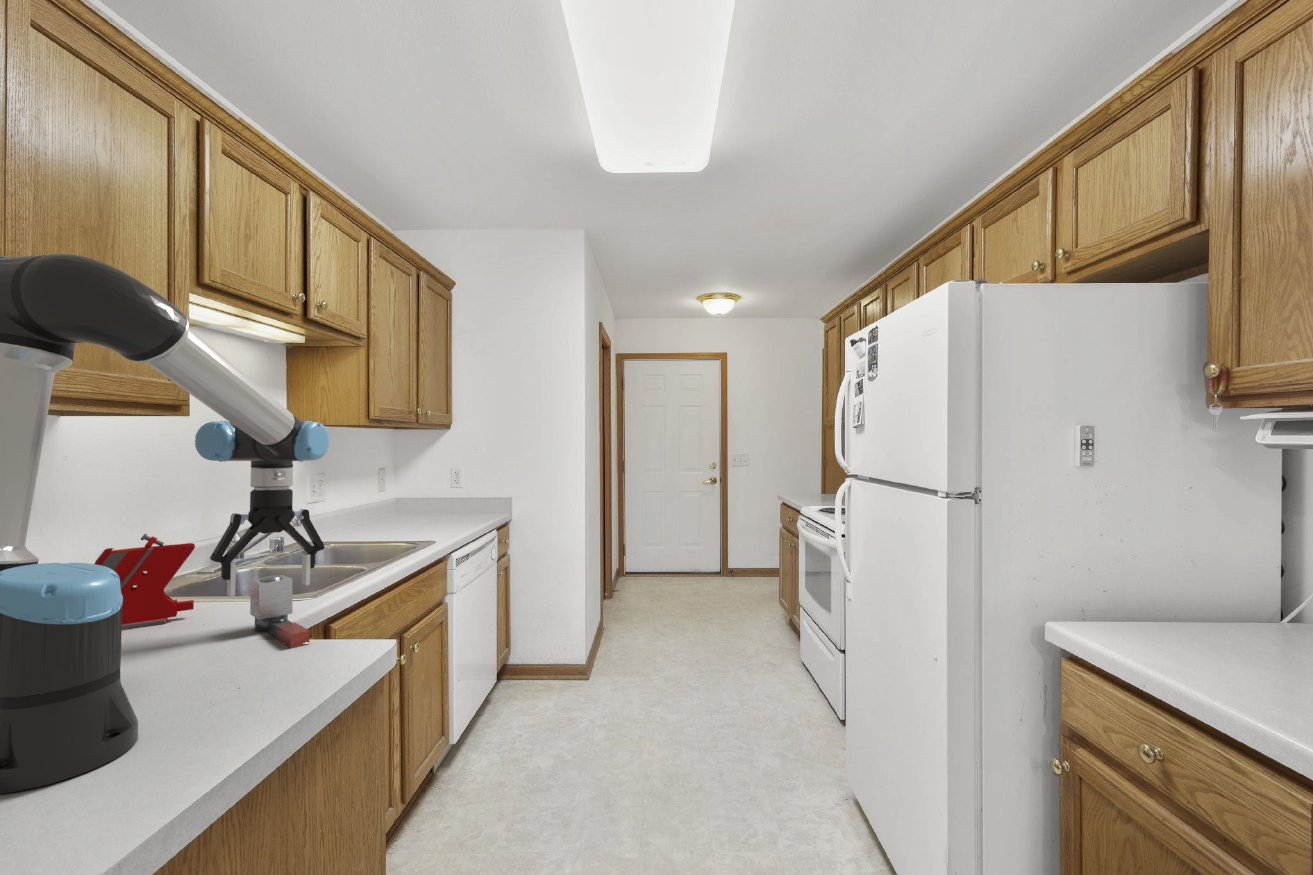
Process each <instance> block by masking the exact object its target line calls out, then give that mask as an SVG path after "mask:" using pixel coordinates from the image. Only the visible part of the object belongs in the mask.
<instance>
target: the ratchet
mask: <svg viewBox="0 0 1313 875" xmlns="http://www.w3.org/2000/svg"><path fill="white" fill-rule="evenodd" d="M288 616H289V614H287V615H282V616H277V617H272V618H267V619H262V620H258V619H257V618H255V617H254V632H256V633H268V634H269V635H271V636H273V637H274V638H276V640H278V641H279V642H280V643H282V644H283V643H285V644H284V645H285V646H286V647H289V649H294V648H297V647H302V646H307V645H308V644H303V643H305V642H309V643H310V630H309V628H306V627H304V626H303V625H301V624H299V623H297V622H295V621H294V622H292V621H290V620H288V619H289V618H288Z"/></svg>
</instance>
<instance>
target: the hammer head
mask: <svg viewBox="0 0 1313 875" xmlns="http://www.w3.org/2000/svg"><path fill="white" fill-rule="evenodd" d="M249 584H250V592H249V593H250V596H249V597H250V599H249V600H250V601H249V602H250V604H249V605H250V606H249V607H250V608H249V609H250V610H249V612H250V615H251V616H252V617H254V619H255V618H257V619H258V620H262V619H267V618H272V617H277V616H282V615H287V614H288V615H292V614H293V578H292V577H289V576H286V575H284V574H276V575H267V576H262V577H258V578H252V579H250V582H249Z"/></svg>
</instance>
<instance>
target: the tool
mask: <svg viewBox="0 0 1313 875" xmlns="http://www.w3.org/2000/svg"><path fill="white" fill-rule="evenodd" d="M140 540H141V541H144V540H145V541H147V542H146V543H145V545H144V547H143V546H142V547H131V548H122V549H121V548H120V549H114V547H108V548H105V549H104V550H103V551H102V552H101V553H100V555H99V556H98V557H97V558H96V560H95V562H94V563H93V564H96V565H101V566H105V567H108V568H110V569H112V570H114V571H115V572H116V573H117V574H118V576H119V578H120V587H121V594H122V596H123V602H122V603H123V605H122V631H124V630H132V629H137V628H138V629H139V628H145V627H150V626H151V627H153V626H158V625H164V624H167V622H168V619H170V618H175V617H177V615H178V612H183V611H184V612H185V611H191V610H194V607H195V605H194V604H195V603H194V599H190V600H182V601H178V599H174V598H172V597H171V596H169V594H168V595H167V593H166V592H165V589H166V587H167V586H168V585H169V583H170V582H171V580H172V579H173V578H174V576H175V575H176V573H178V571H179V570H180V568H181V567H182V566H183V565H184V563H185V562H186V561H187V560H188V558H189V557H190V556H191V554H192V552H193V551H194V550H195V548H196V544H194V543H193V542H190V543H177V544H176V543H175V544H165V542H163V541H161V540H158V538H157V537H155V536H154V535H153V536H148V534H147V533H144V534H143V535H142V536H141V538H140ZM154 544H155V545H156V546H155V545H154ZM164 544H165V545H164ZM153 545H154V546H153Z"/></svg>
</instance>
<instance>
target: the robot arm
mask: <svg viewBox="0 0 1313 875" xmlns="http://www.w3.org/2000/svg"><path fill="white" fill-rule="evenodd" d="M79 343H87V344H94V345H99V346H102V347H104V348H108V349H110V350H112V351H114V352H116V353H118V354H120V355H121V356H122V357H123V358H124V359H126V360H127V361H131V362H133V363H134V362H135V363H145V364H147V365H148V366H149V367H151V368H152V369H154V370H156V371H157V372H158V373H160V374H161V375H163V376H164V377H165V378H167V379H168V380H170V381H171V382H172V383H174V385H177V386H178V387H179V388H181V389H182V390H183V391H185V392H186V393H188V394H189V395H191V396H192V397H193V398H195V399H196V400H198V401H199V402H201V403H202V404H203V405H205V406H206V407H208V408H209V409H211V410H212V411H213V412H215V413H216V414H218V415H219V416H220V417H222V418H224V420H220V421H208V422H206V423H205V424H203V425H202V426H200V427H199V428H198V430H197V431H196V434H195V440H194V446H195V449H196V451H197V453H198V454H199V455H200V457H202V458H203V459H205V460H208V461H212V462H217V461H218V462H220V463H222V462H250V487H251V488H253V489H252V490H251V491H250V492H249V512H248V514H244V513H243V514H241V513H236V512H235V513H234V512H233V513H232V514H231V516H230V518H229V519H230V520H229V525H228V526H227V528H226V529H225V531H224V533H223V534H222V537H221V538H220V540H219V542H218V543H217V545H216V546H215V548H214V550H213V552H212V553H211V555H210V557H209V559H210V561H213V562H215V563H219V564H221V569H220V570H221V573H220V574H221V576H220V578H221V579H222V580H223V581H227V582H226V595H227V596H228V597H232V598H233V597H236V576H237V575H236V574H237V572H236V570H237V568H236V566H237V563H235V562H233V561H234V559H236V558H237V556H238V555H239V554H240V553H241V552H242V551H243V550H244V549H245V547H247V545H248V544H249V543H250V542H252V541H253V539H254V538H255V537H257V535H259V534H265V535H266V534H270V533H281V532H283V531H284V532H285V533H286V534H287V535H289V536H290V537H291V539H293V540H294V541H295V543H297V544H298V545H299V546H300V547H301V548H302V549H303V550H304V551H305V552H306V553H302V555H301V584H302V585H304V586H310V585H311V569H315V566H316V554H317V553H318V552H320V551H323V550H325V548H326V546H325V544H324V541H323V540H322V539H321V537H320V536H319V533H318V532H317V530H316V528H315V526H314V525H313V523H312V521H311V518H310V510H309V509H306V508H301V509H299V510H293V509H294V508H293V504H294V503H293V501H294V500H293V496H294V494H293V492H294V490H292V489H291V488H290V487H292V486H293V485H294V484H293V483H294V482H293V481H294V479H293V478H294V476H293V475H294V464H293V463H294V462H300V463H301V462H302V463H303V462H305V461H317V460H319V459H321V458H323V457H325V455H326V453H327V452H328V448H329V446H330V435H329V432H328V430H327V428H326V426H325V425H324V424H322V423H320V422H318V421H317V422H316V421H311V420H305V421H303V420H300V418H298V417H297V416H295V414H293V413H292V412H291V411H289V410H288V409H287V408H286V407H284V405H282V404H281V403H280V402H279V401H277V400H276V399H275V398H274V397H273V396H271V394H269V393H268V392H267V391H266V390H265V389H263V388H262V387H261V386H259V384H257V383H256V382H254V381H253V380H252V379H251V378H250V377H248V376H247V375H246V374H245V373H244V372H242V371H241V369H239V368H238V367H237V366H235V365H234V363H232V362H231V361H229V360H228V359H227V358H226V357H225V356H223V355H222V354H221V353H220V352H219V351H218V350H216V349H215V348H214V347H213V346H212V345H210V344H209V343H208V342H207V341H205V339H203V338H202V337H201V336H200V335H199V334H197V333H196V332H195V331H194V330H192V329H191V328H190V323H189V318H188V317H187V316H186V314H185V313H183V312H182V311H181V310H179V308H177V307H176V306H175V305H173V303H171V301H169V300H168V299H166V298H165V297H163V296H162V295H161V294H159V292H157V291H155V290H154V289H153V288H151V287H149V286H148V285H146V284H144V283H143V282H141V281H140V280H138V279H137V278H136V277H134V276H131V275H130V274H128V273H126V272H124V271H123V270H120V269H119V268H117V267H115V266H113V265H110V264H108V263H105V262H102V261H100V260H98V259H95V258H91V257H88V256H87V257H86V256H84V255H83V256H82V255H80V254H79V255H77V254H69V253H54V254H46V255H43V254H42V255H25V256H24V255H23V256H7V255H5V256H3V255H0V794H8V792H9V793H15V792H20V791H27V790H31V789H36V788H40V787H42V786H47V785H50V784H51V785H52V784H54V783H55V784H56V783H57V782H61V781H65V780H68V779H70V778H72V777H78V776H79V775H82V774H84V773H87V772H89V771H92V770H94V769H97V768H99V767H102V766H103V765H106V764H108V763H109V762H111V761H113V760H115V759H117V758H119V757H121V756H122V755H123V754H125V753H126V752H128V751H129V750H131V748H133V746H134V745H136V743H137V741H138V739H139V720H138V717H137V715H136V713H135V711H134V709H133V706H132V704H131V702H130V700H129V697H128V696H127V693H126V692H125V689H124V687H123V685H122V682H121V679H122V678H121V664H122V631H123V630H122V605H123V603H122V602H123V596H122V594H121V587H120V578H119V576H118V574H117V573H116V572H115V571H114V570H112V569H110V568H108V567H105V566H101V565H96V564H94V563H87V562H65V563H62V562H45V563H39V557H37V556H36V555H35V554H33V552H32V551H30V550H29V549H28V547H26V542H27V534H28V531H29V530H28V529H29V523H30V518H31V513H32V508H33V501H34V496H35V490H36V482H37V477H38V472H39V467H40V460H41V455H42V449H43V443H44V437H45V432H46V427H47V420H48V414H49V408H50V402H51V397H52V391H53V386H54V385H53V384H54V380H55V376H56V374H57V373H58V372H60V371H62V370H65V369H66V368H68V367H70V366H71V365H73V361H74V354H75V349H76V345H77V344H79ZM295 517H296V519H297V520H298V521H300V523H301V525H302V527H303V529H304V531H305V532H306V534H307V535H308V538H309V539H310V541H311V543H312V544H311V543H310V542H308V541H307V539H306V538H304V536H302V535H301V534H300V532H299V531H298V530H297V529H296V528H295V527H294V526H293V525H292V524H291V522H292V521H293V519H294V518H295ZM245 521H248V522H249V524H251V525H250V526H249V528H247V529H246V531H245V532H244V533H243V535H241V537H240V538H239V539H238V540H237V541H236V542H235V543H234V545H232V547H231V548H230V549H229V550H228V551H227V549H228V548H229V545H230V544H231V542H232V541H233V539H234V537H235V535H236V534H237V532H238V531H239V528H240V527H241V525H243V524H245Z"/></svg>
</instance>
